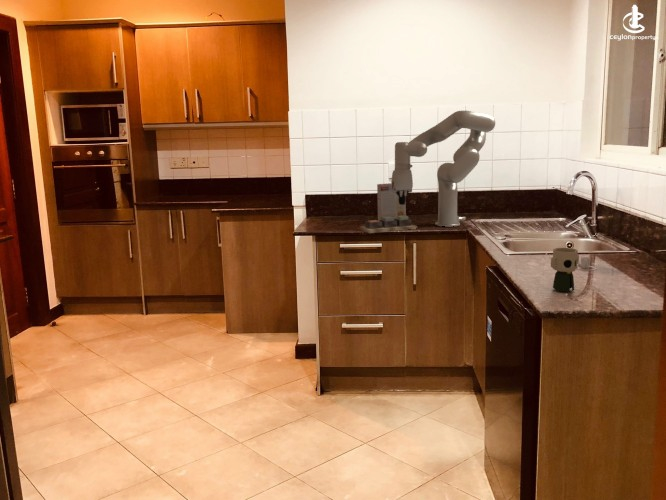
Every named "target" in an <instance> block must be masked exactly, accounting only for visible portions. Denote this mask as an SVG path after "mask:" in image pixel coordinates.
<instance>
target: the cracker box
mask: <svg viewBox="0 0 666 500" xmlns="http://www.w3.org/2000/svg"><path fill="white" fill-rule="evenodd" d="M376 186H377V187H376V188H377V189H376V190H377V191H376V192H377V193H376V194H377V220H378V221H380V220H382V217H394V219H397V216H402V215H405V216H407V213H406V212H407V211H406V210H407V208H406V207H407V205H406V203H407V201H406V199H405V205H401V204H399V196H398V195H397V194H396V193H392V189H391V182H389V183H377V184H376ZM402 191H403V190H402Z"/></svg>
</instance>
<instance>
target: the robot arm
mask: <svg viewBox="0 0 666 500" xmlns="http://www.w3.org/2000/svg"><path fill="white" fill-rule="evenodd" d="M495 127H496V119H495V118H494V117H493V116H492V115H490V114H487V113H482V112H481V113H480V112H477V111H476V112H475V111H470V110H457V111H454V112H453V113H451V114H450V115H448V116H447V117H446V118H445V119H442V121H440V122H438V123H437V124H436V125H434V126H432V127H430V128H428V130H426V131H423V132H421V133H420V134H418V135H417V136H415V137H414V138H412V139H411V140H410V141H409V142H407V141H398V142H396V143H395V144H394V170H392V174H391V182H390V183H391V189H392V193H396V194H397V195H398V196H399V204H401V205H405V199H406V197H407V196H408V194H409V193H412V192H413V187H414V186H413V185H414V183H413V174H412V170H411V168H413V164H411V157H416V158H421V157H423V156H425V155H426V154H427V153H428V147H429V146H431V145H434V144H437V143H441V142H443V141H446V140H447V139H448V138H450V137H451V136H453V135H454V134H455V133H457V132H458V131H460V130H461V129H468V130H470V133H469V136H468V138H467V139H466V140H465V141H464V143H462V145H460V146H459V148H458V149H457V150H456V151H455V152H454V153H453V156H452V157H453V158H452V159H453V163H452V162H444V163H442V164H440V165H439V167H438V168H437V171H436V173H437V174H436V176H437V185H438V191H437V192H438V193H437V195H438V196H437V197H438V200H437V202H438V203H437V204H438V205H437V207H438V209H437V212H438V213H437V215H438V216H437V221H435V222H434V225H435V226H436V225H437V227H442V226H445V227H444V228H448V227H449V228H451V227H453V226H454V227H458V226H460V225H461V221H463V222H464V221H466V219H467V217H466V216H459V215H458V191H459V190H458V185H457V184H459V183H461V182H462V181H463V180H465V178H466V177H467V176H468V175H469V174H470V173H471V172H472V171H473V170H474V169H475V167H477V165H478V163H479V161H480V159H481V158H480V153H479V152H480V151H481V150H482V149H483V147H484V145H485V143H486V140H487V139H486V138H487V133H488V132H491V131H493V130H494V129H495ZM402 190H403V191H402Z"/></svg>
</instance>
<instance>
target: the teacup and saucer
mask: <svg viewBox="0 0 666 500" xmlns="http://www.w3.org/2000/svg"><path fill="white" fill-rule="evenodd" d="M590 264H591V257H589V256H588V257H587V256H583V257H581V258H580V260H579V262H578V264H577V269H576V270H579V271H583V270H585V271H596V270H598V268H597V267H596V266H593V265H590ZM578 267H581V268H578ZM589 268H592V269H589Z"/></svg>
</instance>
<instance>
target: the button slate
mask: <svg viewBox="0 0 666 500" xmlns="http://www.w3.org/2000/svg"><path fill="white" fill-rule="evenodd" d="M382 220H383V221H394V217H382Z"/></svg>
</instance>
